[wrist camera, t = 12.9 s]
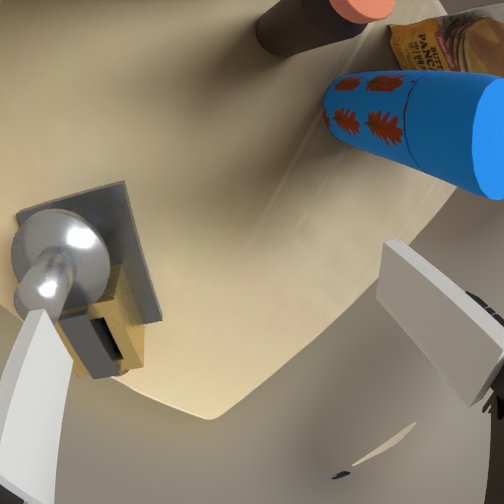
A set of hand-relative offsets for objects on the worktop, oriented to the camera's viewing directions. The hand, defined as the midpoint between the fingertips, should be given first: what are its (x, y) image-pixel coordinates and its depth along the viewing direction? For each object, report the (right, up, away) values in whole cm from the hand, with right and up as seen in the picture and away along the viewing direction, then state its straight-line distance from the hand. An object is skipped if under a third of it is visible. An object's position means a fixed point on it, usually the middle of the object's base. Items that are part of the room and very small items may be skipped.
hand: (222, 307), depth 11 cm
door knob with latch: (-21, 0, +30) cm, 37 cm away
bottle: (+5, +29, +22) cm, 37 cm away
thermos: (+15, +22, +29) cm, 39 cm away
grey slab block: (-20, -6, +30) cm, 37 cm away
